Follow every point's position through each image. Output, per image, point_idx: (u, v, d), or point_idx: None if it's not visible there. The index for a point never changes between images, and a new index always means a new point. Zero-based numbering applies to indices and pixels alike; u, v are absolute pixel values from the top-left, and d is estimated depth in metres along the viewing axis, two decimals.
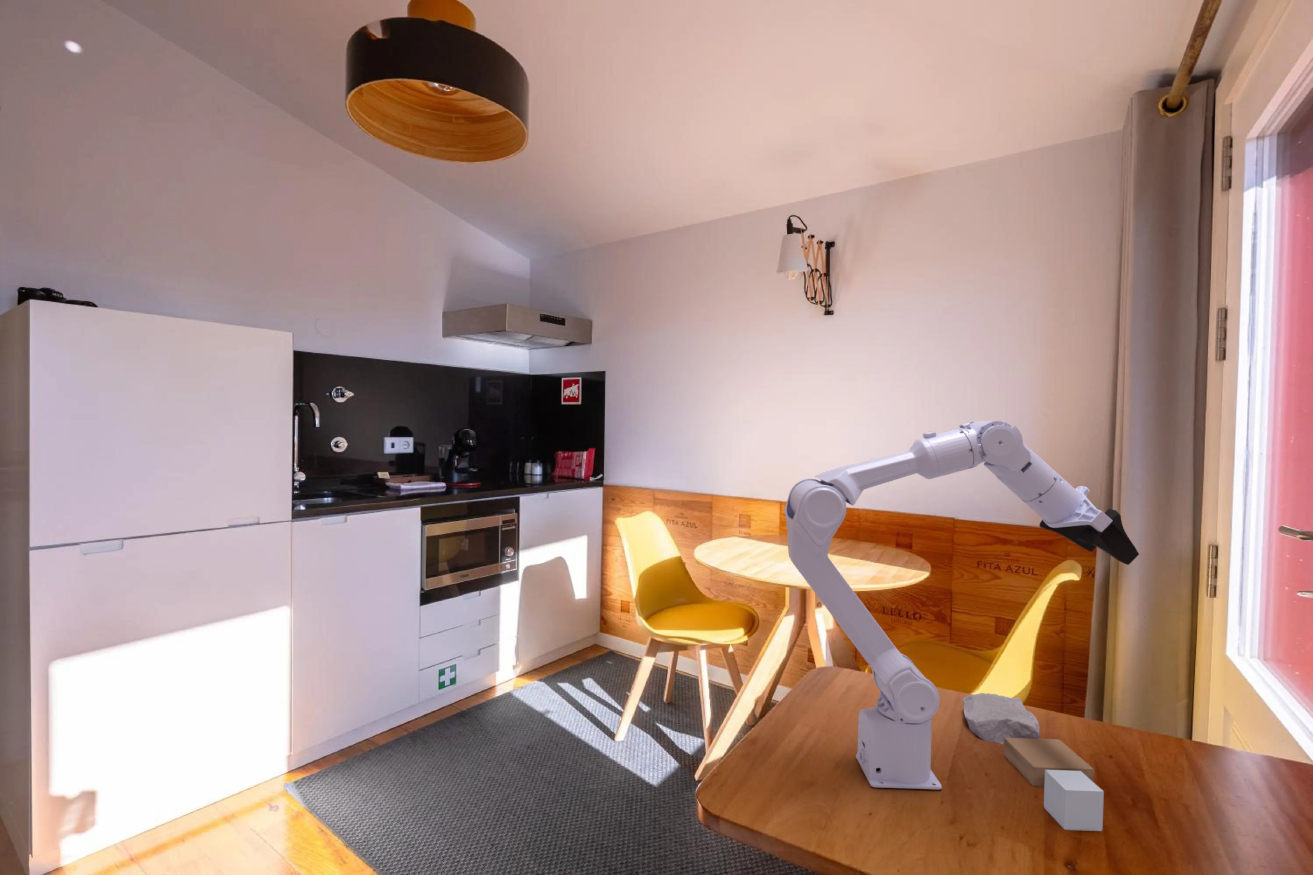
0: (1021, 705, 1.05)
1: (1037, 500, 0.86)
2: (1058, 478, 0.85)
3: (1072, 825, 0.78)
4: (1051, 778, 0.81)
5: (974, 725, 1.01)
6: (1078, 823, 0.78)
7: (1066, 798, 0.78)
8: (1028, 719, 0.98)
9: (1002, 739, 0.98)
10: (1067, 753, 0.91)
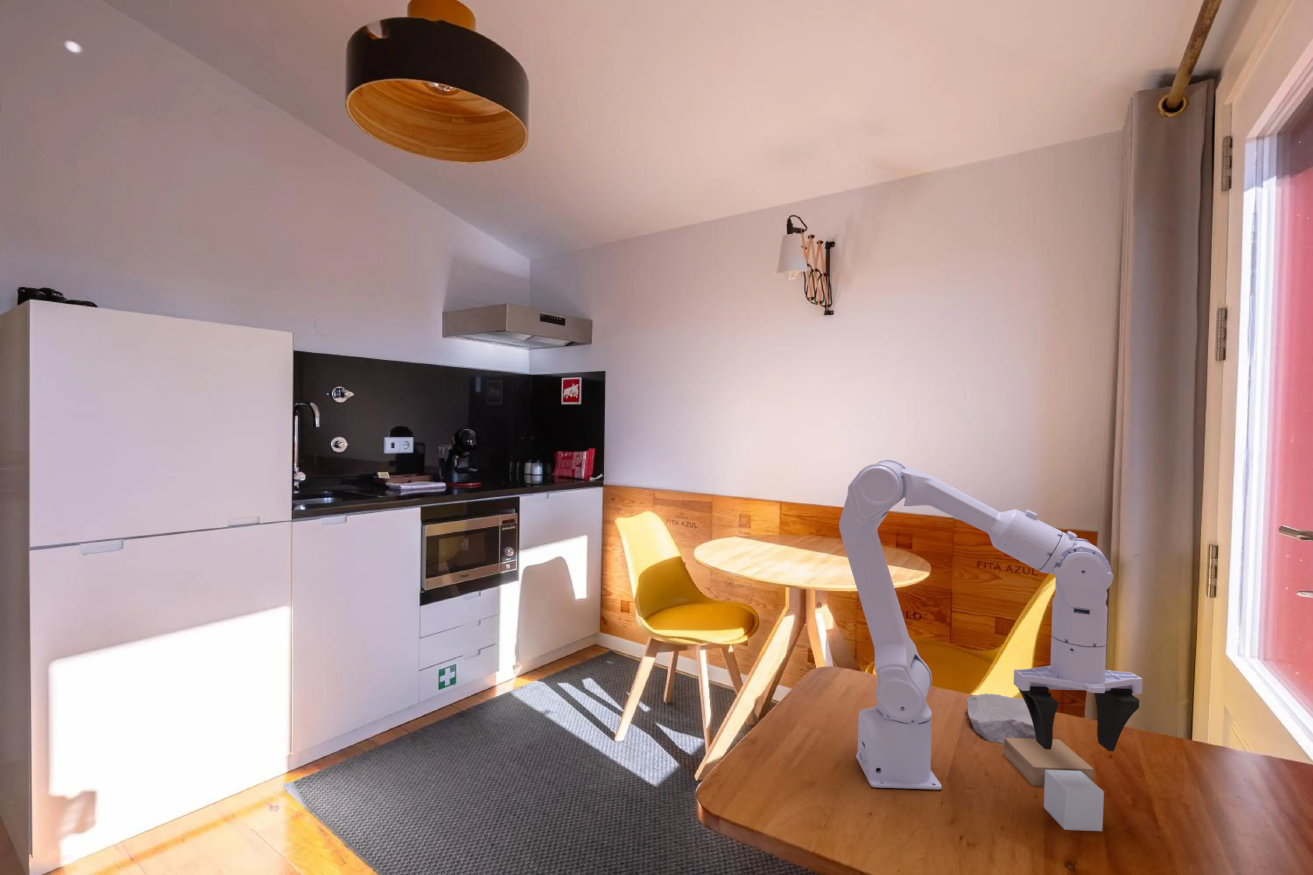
0: (1025, 706, 1.05)
1: None
2: (1070, 645, 0.77)
3: (1072, 825, 0.78)
4: (1051, 778, 0.81)
5: (978, 725, 1.01)
6: (1078, 823, 0.78)
7: (1066, 798, 0.78)
8: None
9: None
10: (1067, 753, 0.91)
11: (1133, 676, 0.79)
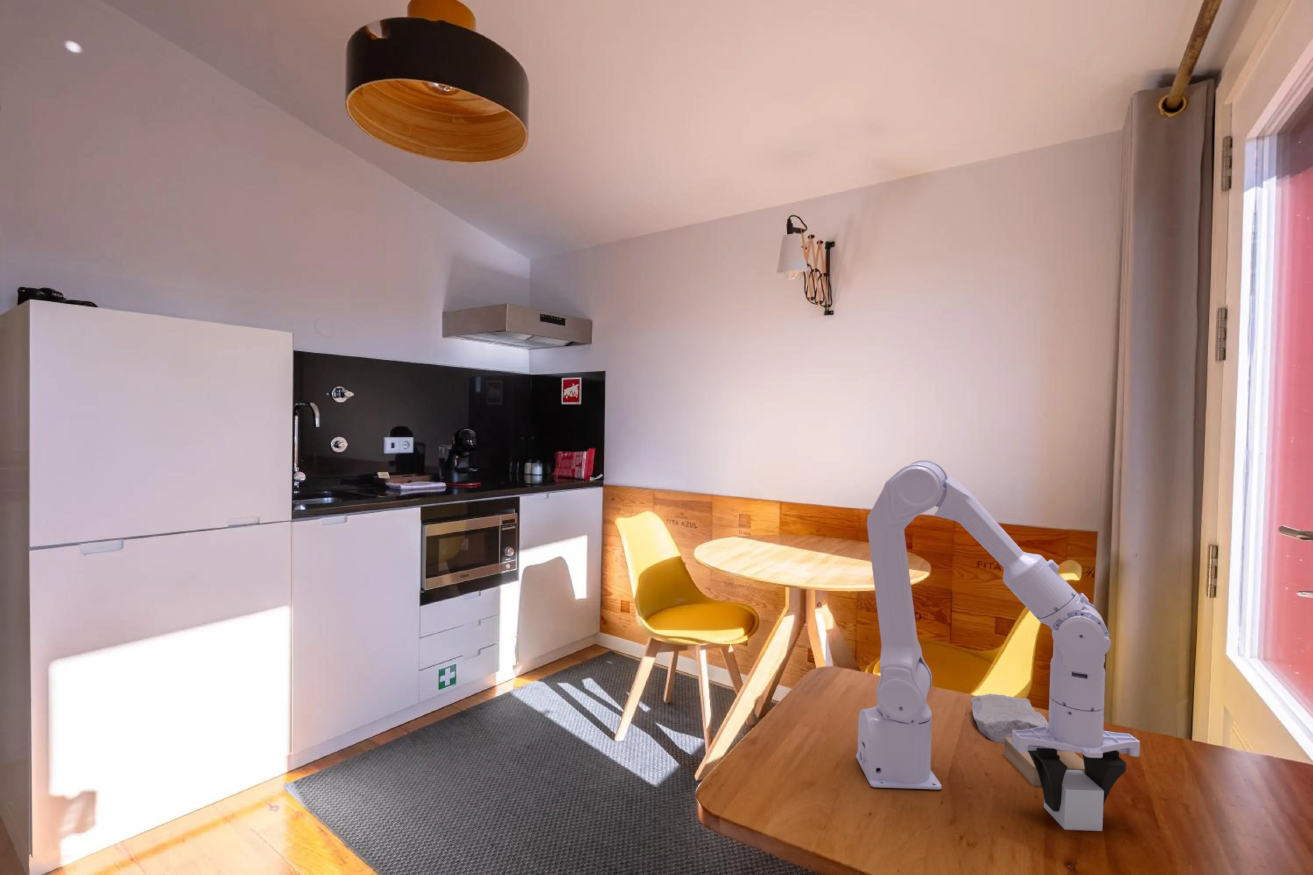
0: (1029, 706, 1.05)
1: None
2: (1068, 709, 0.78)
3: (1072, 824, 0.78)
4: None
5: (984, 726, 1.00)
6: (1078, 822, 0.78)
7: (1066, 797, 0.78)
8: (1037, 720, 0.98)
9: None
10: (1067, 753, 0.91)
11: (1131, 738, 0.79)
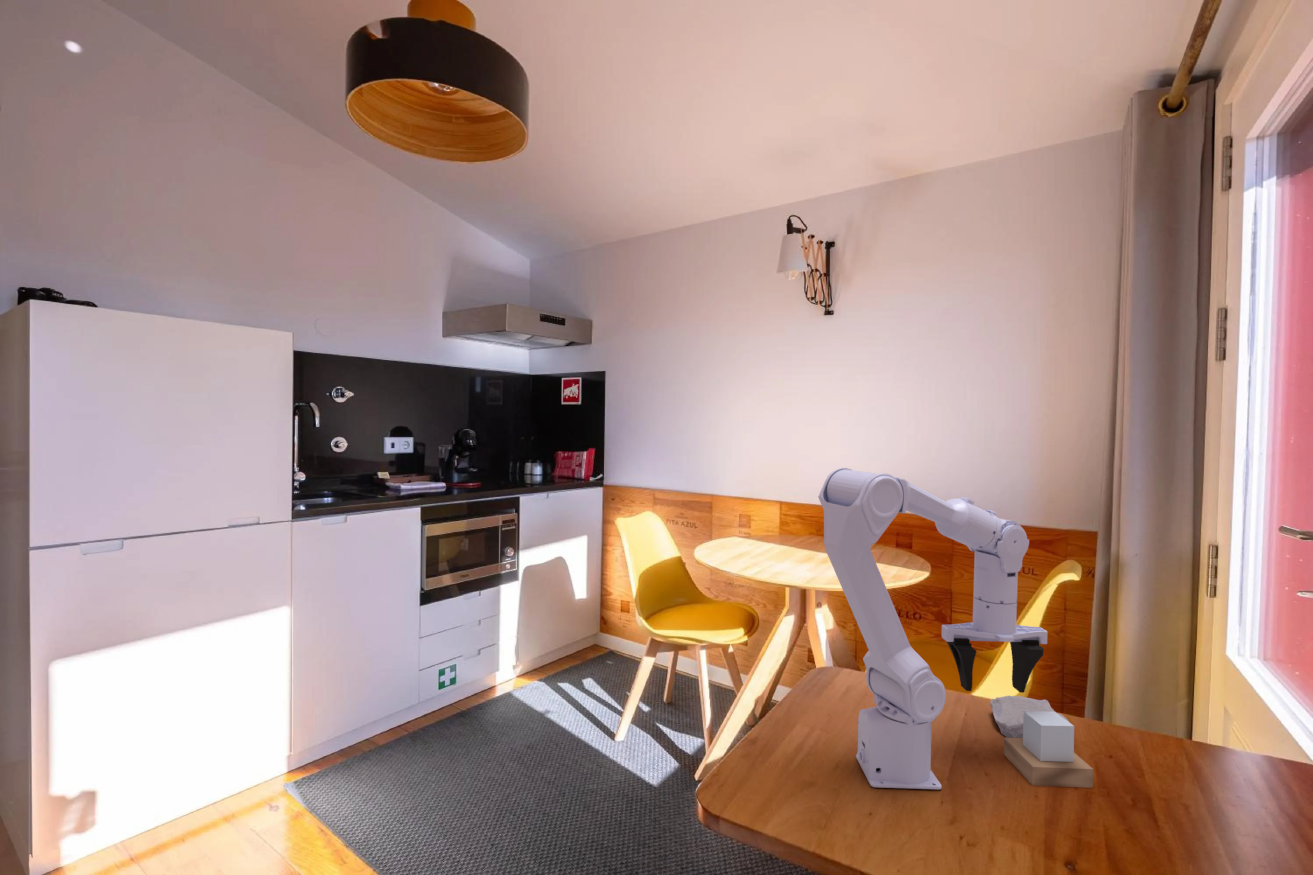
0: (1049, 707, 1.04)
1: None
2: (986, 603, 0.92)
3: (1047, 756, 0.88)
4: (1029, 717, 0.91)
5: (1006, 729, 1.00)
6: (1052, 754, 0.88)
7: (1041, 732, 0.88)
8: None
9: None
10: None
11: (1040, 629, 0.94)
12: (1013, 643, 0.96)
